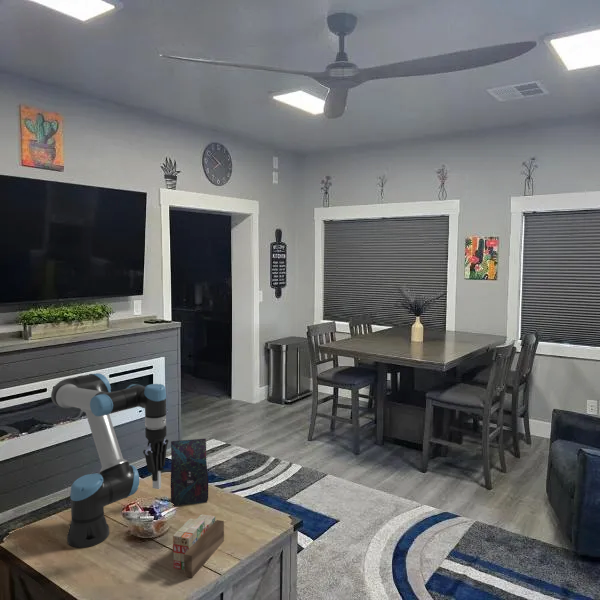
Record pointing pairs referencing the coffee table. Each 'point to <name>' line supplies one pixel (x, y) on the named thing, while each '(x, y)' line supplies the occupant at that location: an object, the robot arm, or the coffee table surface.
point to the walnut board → (203, 548)
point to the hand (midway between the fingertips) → (156, 487)
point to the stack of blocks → (189, 537)
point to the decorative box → (189, 472)
